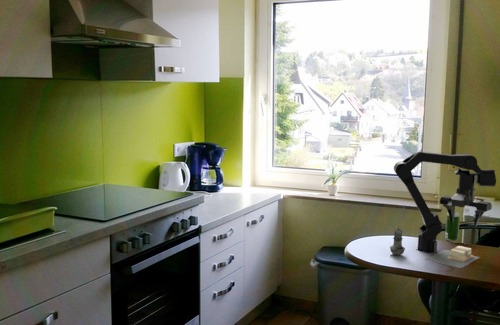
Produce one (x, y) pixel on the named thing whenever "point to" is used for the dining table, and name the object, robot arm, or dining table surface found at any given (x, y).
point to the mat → (450, 259)
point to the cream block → (460, 253)
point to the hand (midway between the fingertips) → (463, 224)
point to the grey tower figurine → (397, 243)
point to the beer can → (452, 227)
